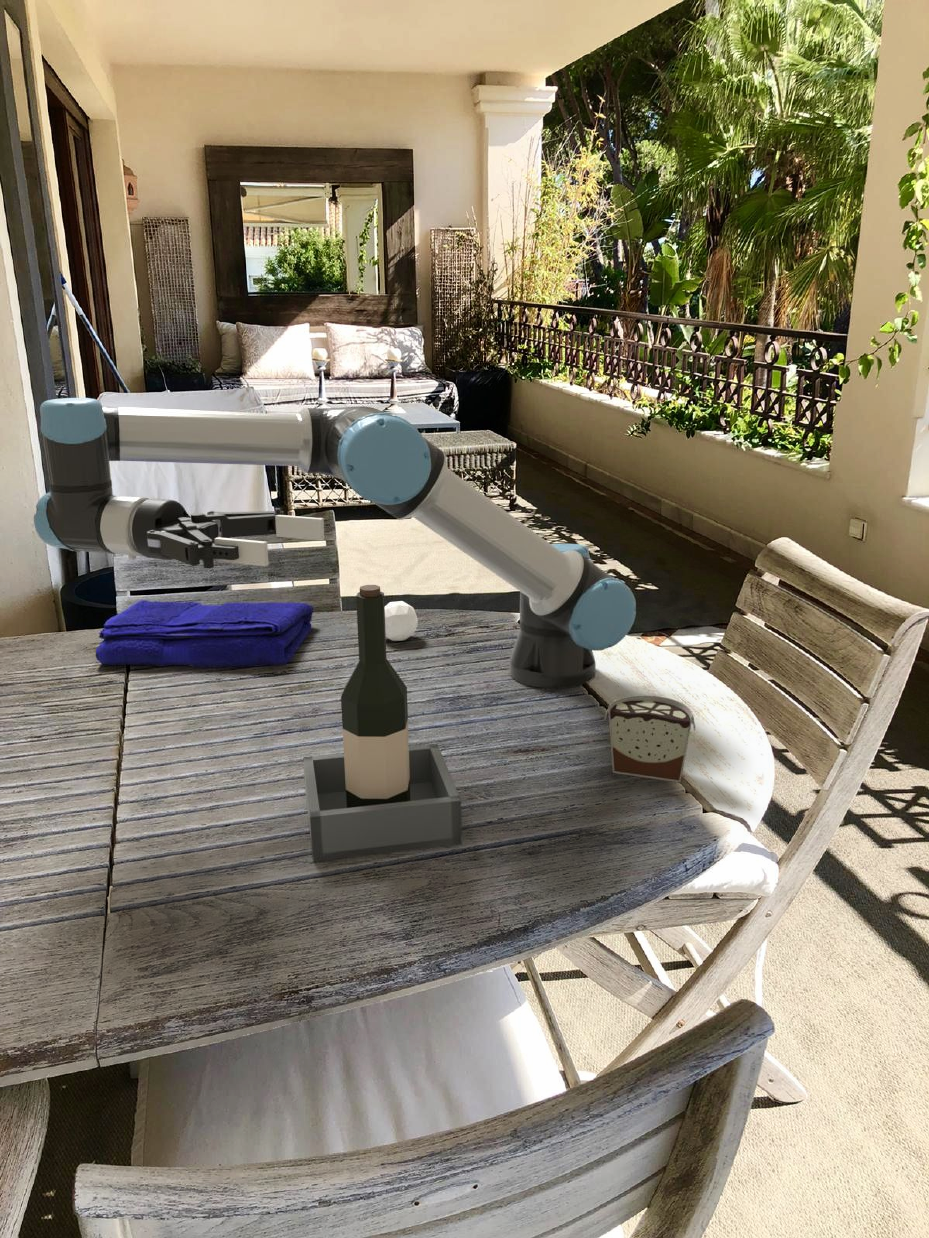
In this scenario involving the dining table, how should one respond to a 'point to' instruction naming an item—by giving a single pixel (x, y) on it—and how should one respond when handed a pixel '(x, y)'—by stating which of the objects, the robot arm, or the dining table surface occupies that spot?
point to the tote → (381, 810)
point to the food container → (649, 736)
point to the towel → (204, 634)
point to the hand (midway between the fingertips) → (296, 541)
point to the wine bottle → (374, 715)
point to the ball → (399, 621)
